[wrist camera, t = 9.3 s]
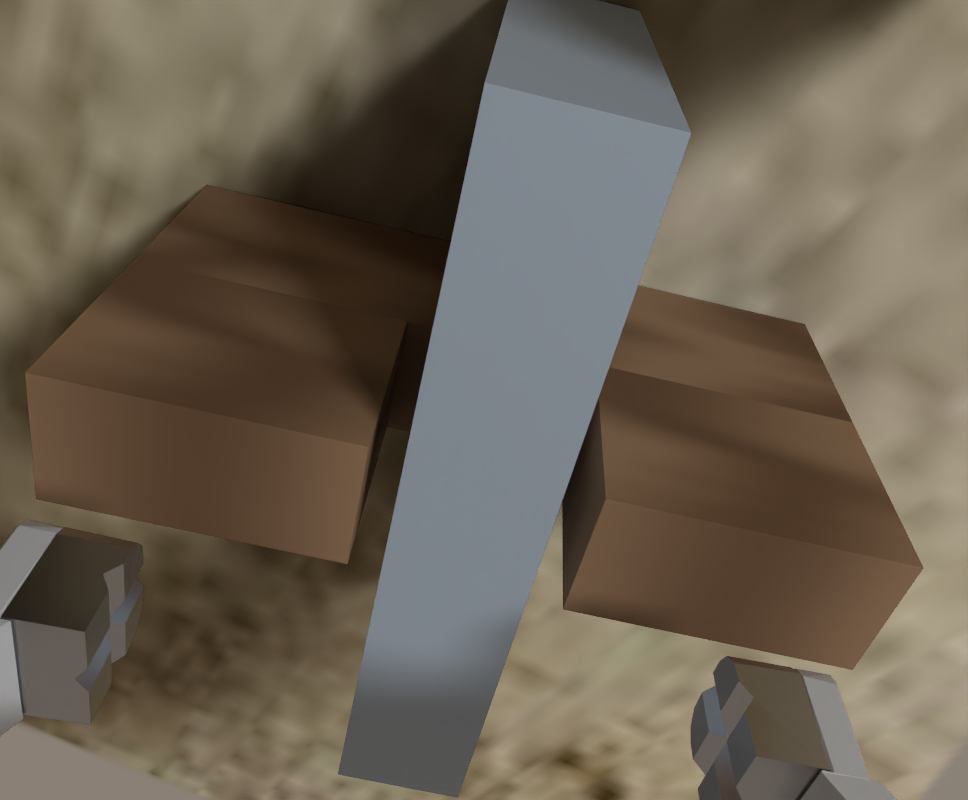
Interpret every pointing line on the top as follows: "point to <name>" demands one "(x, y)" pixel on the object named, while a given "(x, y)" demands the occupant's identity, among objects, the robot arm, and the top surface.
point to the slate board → (512, 370)
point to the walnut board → (392, 402)
